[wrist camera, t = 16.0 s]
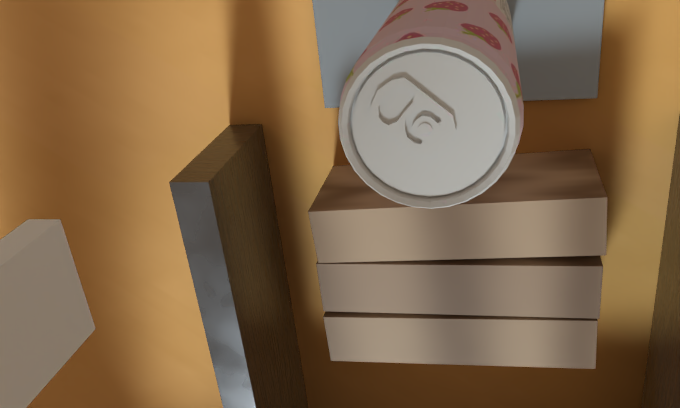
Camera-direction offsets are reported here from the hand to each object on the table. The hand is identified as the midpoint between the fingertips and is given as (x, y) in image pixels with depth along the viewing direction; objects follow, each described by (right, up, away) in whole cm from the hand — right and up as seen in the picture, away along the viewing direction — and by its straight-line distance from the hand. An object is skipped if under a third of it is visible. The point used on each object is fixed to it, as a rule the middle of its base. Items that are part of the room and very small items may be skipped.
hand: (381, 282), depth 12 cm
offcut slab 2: (+6, 0, +26) cm, 26 cm away
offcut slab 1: (+6, +3, +24) cm, 25 cm away
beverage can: (+5, +10, +20) cm, 23 cm away
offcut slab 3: (+7, -3, +27) cm, 28 cm away
